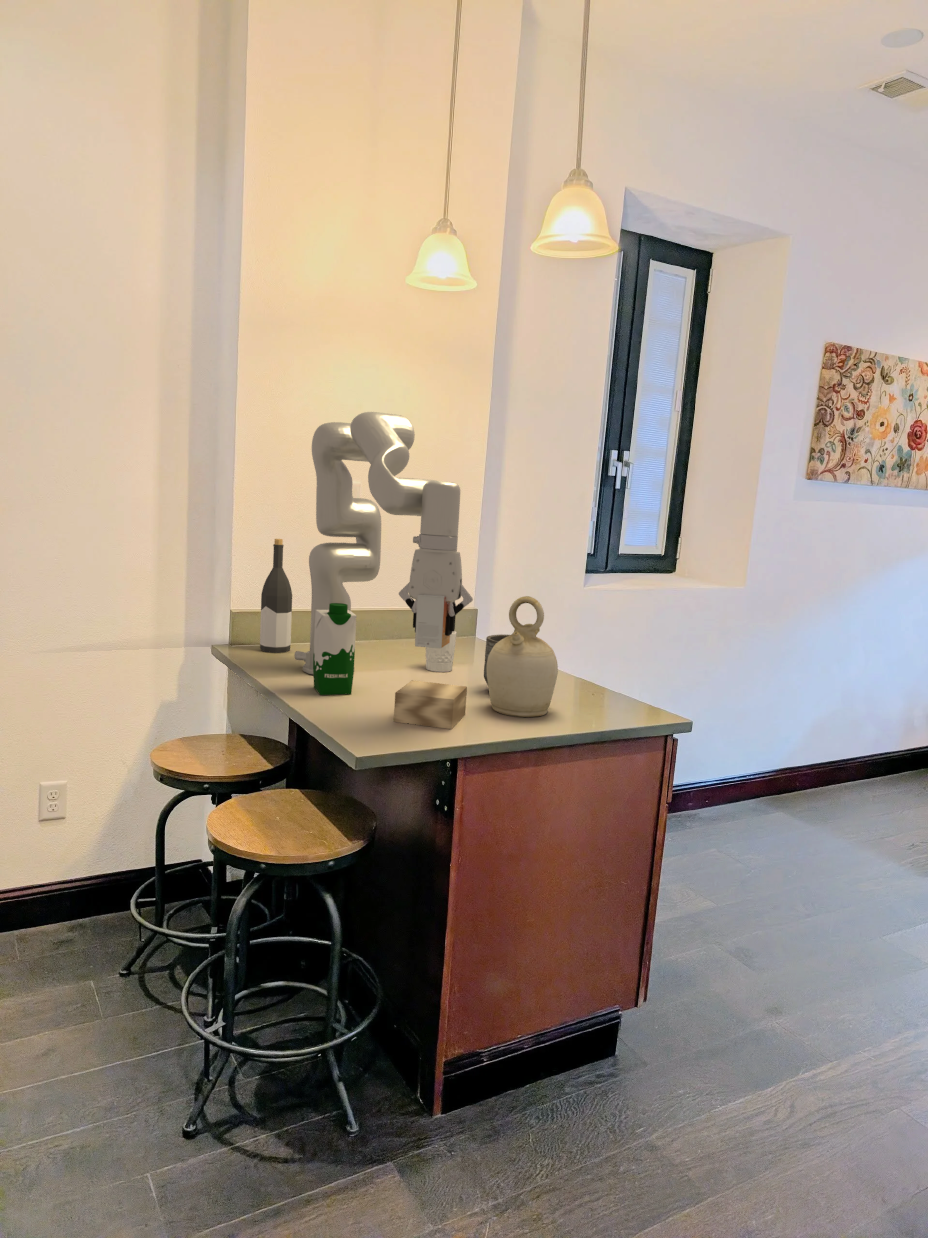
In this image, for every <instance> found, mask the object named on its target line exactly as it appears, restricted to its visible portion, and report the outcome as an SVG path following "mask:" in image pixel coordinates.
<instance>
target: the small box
mask: <svg viewBox="0 0 928 1238" xmlns="http://www.w3.org/2000/svg"><path fill="white" fill-rule="evenodd" d="M445 599H446V597H445V596H437V595H417V614H416V633H415V637H414V639H415V640H414V646H415V647H420V648H426V647H429V648H442V647H444V646H445V645H447V644H449V643H450V635H449V636H446V635H445V626H446V617H447V616H448V609H447V602H446V601H445Z"/></svg>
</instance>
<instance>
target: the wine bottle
mask: <svg viewBox="0 0 928 1238" xmlns="http://www.w3.org/2000/svg"><path fill="white" fill-rule="evenodd" d="M283 540H284V539H283V538H274V542H273V545H272V546H273V553H272V554H273V557H272V560H273V561H272V562H273V563H272V568H271V570H270V572H269V573H268V575H267V577H266V579H265V581H264V583H263V586H262V591H261V600H260V628H259V629H260V630H259V631H260V633H259V650H260V651H262V652H265V653H271V654H281V653H282V654H283V653H287V652H290V651H291V643H292V638H291V637H292V615H293V614H292V613H293V612H292V611H293V590H292V587H291V584H290V583H291V582H290V580H289V578H288V576H287V574H286V572H285V570H284V568H283V564H284V563H283V561H284V560H283V559H284V558H283V557H284V544H283V543H284V541H283Z"/></svg>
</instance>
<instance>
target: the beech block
mask: <svg viewBox="0 0 928 1238" xmlns="http://www.w3.org/2000/svg"><path fill="white" fill-rule="evenodd" d="M467 693H468V687H467V686H463V685H458V684H457V685H456V684H447V683H437V682H430V681H423V680H421V681H420V680H413V679H412V680H411V681H409V682H407V683H406V684H405V685H403V686H402V687H400V688H399V689H398V690H396V691H395V692H394V710H393V722H394V723H400V724H407V723H409V725H415V724H416V725H417V726H424V727H432V728H439V729H448V730H453V729H454V727H456V726H457V724H458V723H459V722H460V721H461V720H462V719H463V718H464V717H465V716H466V708H467V707H466V706H467ZM416 725H415V726H416Z"/></svg>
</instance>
